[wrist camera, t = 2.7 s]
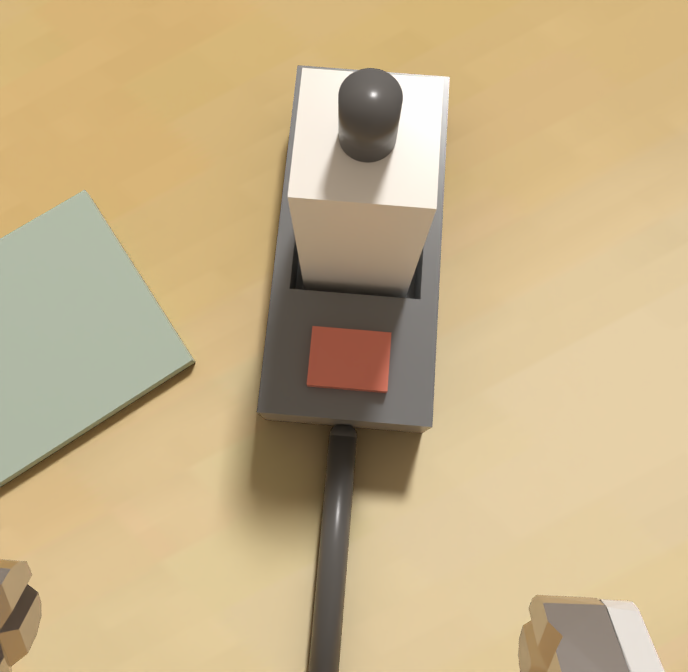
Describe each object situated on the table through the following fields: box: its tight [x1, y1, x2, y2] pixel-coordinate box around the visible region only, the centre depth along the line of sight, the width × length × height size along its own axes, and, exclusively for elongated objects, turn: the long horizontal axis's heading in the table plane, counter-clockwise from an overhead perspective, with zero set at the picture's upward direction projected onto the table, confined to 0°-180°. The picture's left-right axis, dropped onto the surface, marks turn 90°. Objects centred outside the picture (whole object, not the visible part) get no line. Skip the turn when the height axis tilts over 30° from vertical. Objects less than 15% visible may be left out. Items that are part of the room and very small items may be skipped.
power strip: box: [257, 65, 450, 672], centre depth 26 cm, size 28×7×4 cm, turn 175°
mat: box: [0, 190, 195, 487], centre depth 28 cm, size 10×10×1 cm
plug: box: [288, 68, 443, 298], centre depth 23 cm, size 4×4×12 cm
